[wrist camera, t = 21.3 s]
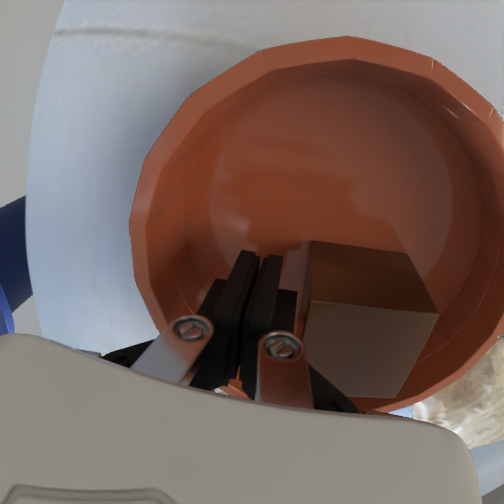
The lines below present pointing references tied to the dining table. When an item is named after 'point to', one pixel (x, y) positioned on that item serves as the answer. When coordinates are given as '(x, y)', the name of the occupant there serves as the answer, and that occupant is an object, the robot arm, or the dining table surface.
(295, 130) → the bowl
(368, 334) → the block
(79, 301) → the dining table surface
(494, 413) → the rock
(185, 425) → the robot arm
